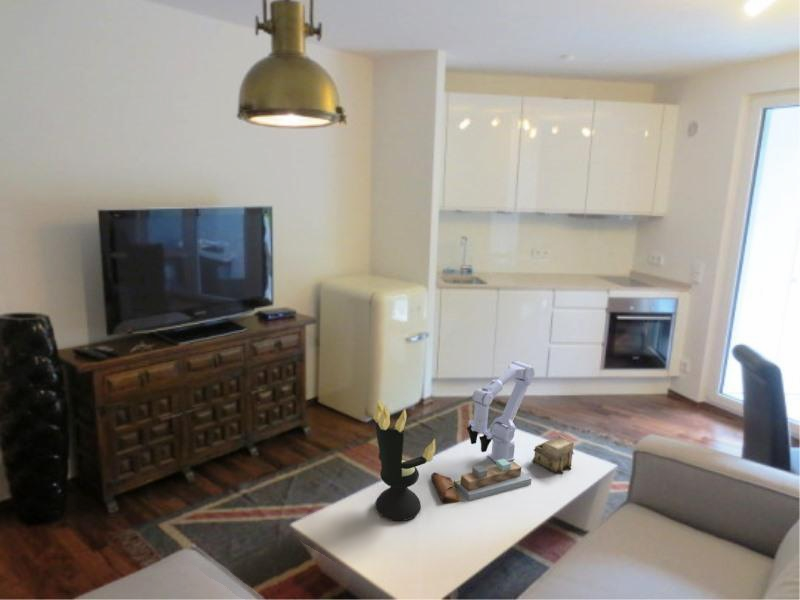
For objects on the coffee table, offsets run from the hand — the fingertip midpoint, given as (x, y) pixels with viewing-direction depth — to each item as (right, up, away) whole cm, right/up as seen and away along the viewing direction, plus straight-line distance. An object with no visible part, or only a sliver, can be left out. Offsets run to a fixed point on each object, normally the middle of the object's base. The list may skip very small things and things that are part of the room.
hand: (478, 447), depth 234 cm
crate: (-2, -6, -16) cm, 17 cm away
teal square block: (+8, -6, -10) cm, 14 cm away
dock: (+4, -12, -11) cm, 17 cm away
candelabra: (-35, -15, -31) cm, 49 cm away
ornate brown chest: (+34, -10, +8) cm, 36 cm away
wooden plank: (+3, -10, -12) cm, 16 cm away
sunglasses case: (-15, -13, -16) cm, 25 cm away
